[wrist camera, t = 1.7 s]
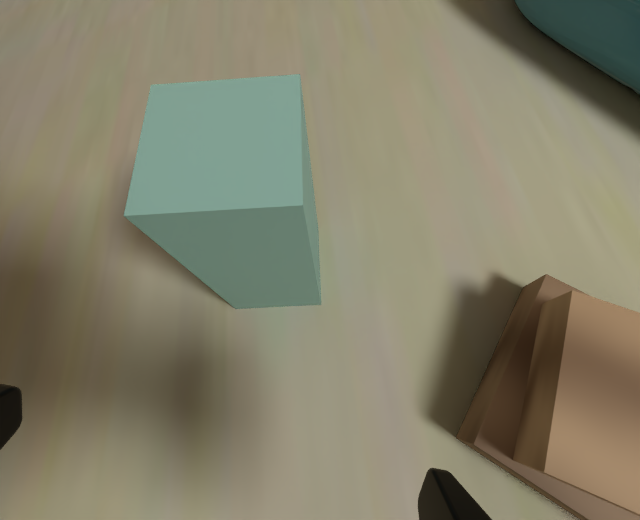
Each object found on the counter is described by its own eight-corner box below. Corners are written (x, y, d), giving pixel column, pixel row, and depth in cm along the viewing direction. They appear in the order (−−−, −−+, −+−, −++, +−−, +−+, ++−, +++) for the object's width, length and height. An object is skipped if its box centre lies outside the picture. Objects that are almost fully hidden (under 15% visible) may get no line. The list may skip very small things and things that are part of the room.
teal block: (321, 304, 21) (303, 205, 10) (235, 308, 21) (123, 215, 10) (318, 227, 23) (300, 74, 12) (239, 232, 23) (151, 84, 12)
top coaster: (709, 547, 14) (784, 578, 12) (512, 460, 15) (544, 472, 13) (710, 362, 16) (771, 357, 14) (542, 303, 18) (572, 290, 16)
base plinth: (655, 569, 16) (711, 599, 13) (455, 437, 18) (473, 444, 16) (700, 378, 18) (752, 376, 16) (523, 287, 21) (546, 274, 19)
